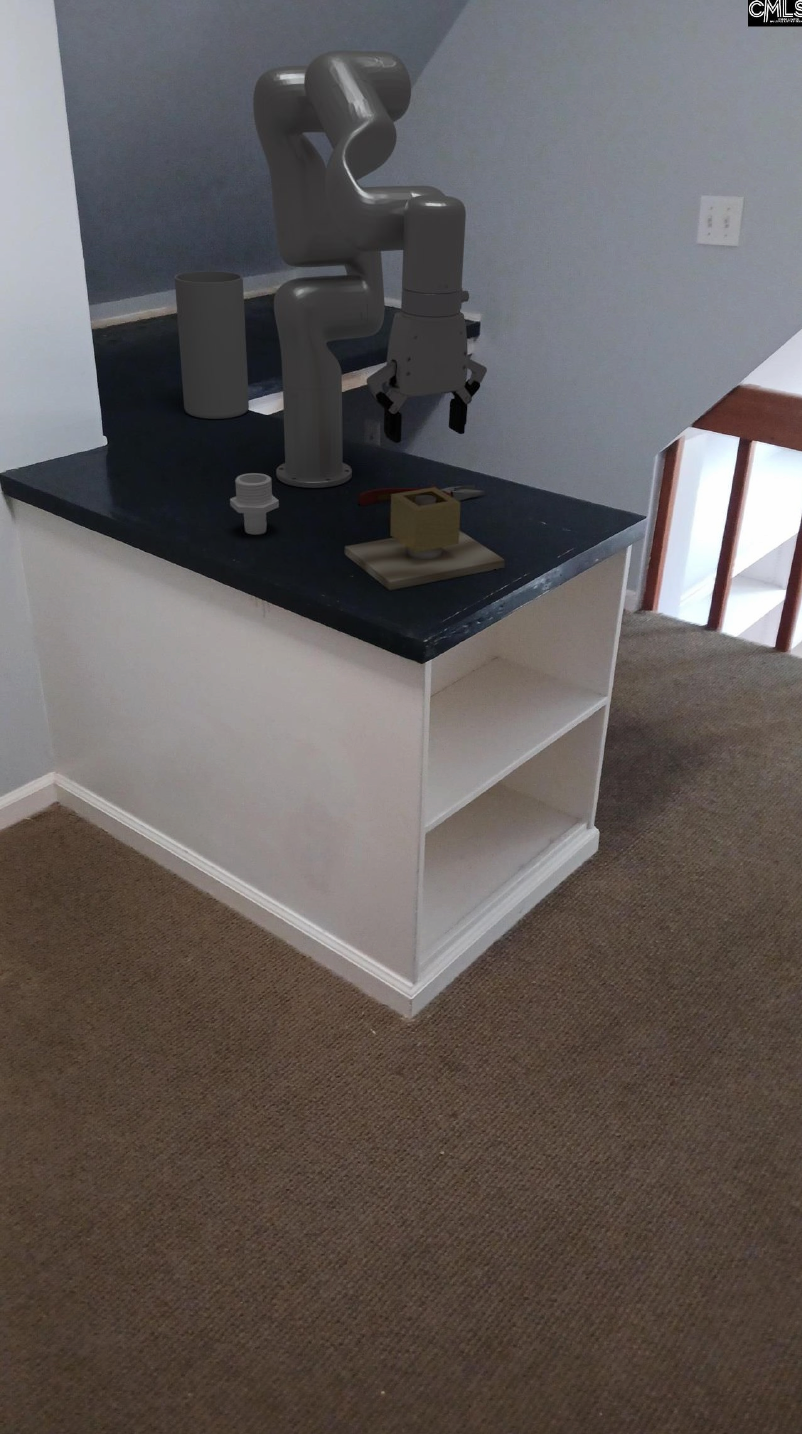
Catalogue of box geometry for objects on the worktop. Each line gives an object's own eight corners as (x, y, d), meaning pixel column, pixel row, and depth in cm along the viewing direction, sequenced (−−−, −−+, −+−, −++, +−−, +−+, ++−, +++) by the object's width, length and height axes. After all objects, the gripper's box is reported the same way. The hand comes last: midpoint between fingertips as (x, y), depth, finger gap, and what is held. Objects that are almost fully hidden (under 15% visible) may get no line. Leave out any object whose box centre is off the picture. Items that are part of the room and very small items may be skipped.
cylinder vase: (256, 416, 226) (250, 281, 214) (193, 422, 222) (183, 284, 209) (239, 400, 236) (232, 269, 223) (178, 405, 232) (167, 272, 219)
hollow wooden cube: (390, 535, 164) (391, 494, 161) (433, 527, 167) (435, 487, 164) (414, 552, 159) (415, 510, 156) (458, 544, 162) (460, 502, 159)
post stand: (344, 554, 166) (344, 492, 162) (454, 534, 174) (456, 474, 169) (389, 590, 156) (390, 525, 151) (504, 567, 163) (508, 504, 158)
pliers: (501, 507, 186) (502, 491, 185) (393, 529, 177) (393, 512, 175) (461, 486, 194) (461, 471, 193) (355, 506, 185) (355, 490, 184)
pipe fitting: (266, 519, 178) (264, 468, 174) (284, 535, 172) (282, 483, 168) (227, 526, 175) (224, 474, 171) (244, 542, 170) (241, 489, 166)
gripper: (474, 292, 154) (466, 420, 163) (356, 301, 146) (354, 435, 155) (504, 304, 148) (494, 436, 157) (383, 315, 141) (380, 452, 150)
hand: (425, 435), depth 156 cm, fingers open, 9 cm apart
